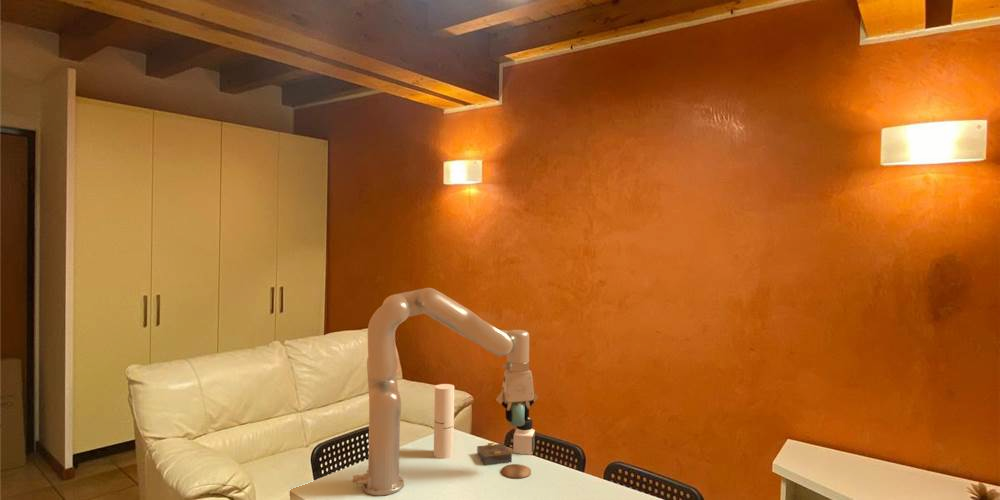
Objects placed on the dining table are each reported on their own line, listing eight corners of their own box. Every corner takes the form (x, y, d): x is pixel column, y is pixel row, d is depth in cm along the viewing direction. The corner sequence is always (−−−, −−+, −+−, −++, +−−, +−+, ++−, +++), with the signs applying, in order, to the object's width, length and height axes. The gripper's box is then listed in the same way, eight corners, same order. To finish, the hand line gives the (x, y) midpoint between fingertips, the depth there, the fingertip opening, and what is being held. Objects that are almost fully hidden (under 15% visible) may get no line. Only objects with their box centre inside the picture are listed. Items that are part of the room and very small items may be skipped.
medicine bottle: (532, 455, 185) (532, 422, 185) (513, 453, 186) (513, 421, 187) (534, 448, 192) (535, 416, 192) (516, 446, 193) (516, 415, 194)
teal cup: (512, 426, 167) (512, 404, 167) (507, 421, 172) (507, 400, 172) (526, 425, 169) (527, 403, 169) (521, 420, 174) (521, 399, 174)
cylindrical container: (436, 450, 188) (437, 383, 188) (455, 451, 187) (456, 384, 187) (431, 457, 181) (432, 388, 181) (450, 459, 180) (451, 389, 180)
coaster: (506, 480, 164) (506, 478, 164) (497, 467, 174) (497, 466, 174) (535, 476, 167) (535, 474, 167) (525, 464, 177) (525, 462, 177)
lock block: (484, 465, 175) (484, 454, 175) (477, 454, 185) (477, 444, 185) (511, 462, 178) (511, 451, 178) (503, 451, 188) (503, 441, 188)
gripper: (497, 370, 164) (496, 426, 164) (545, 367, 170) (544, 421, 169) (490, 365, 172) (489, 418, 172) (537, 363, 177) (536, 414, 177)
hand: (517, 419), depth 170 cm, fingers closed on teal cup, 5 cm apart
